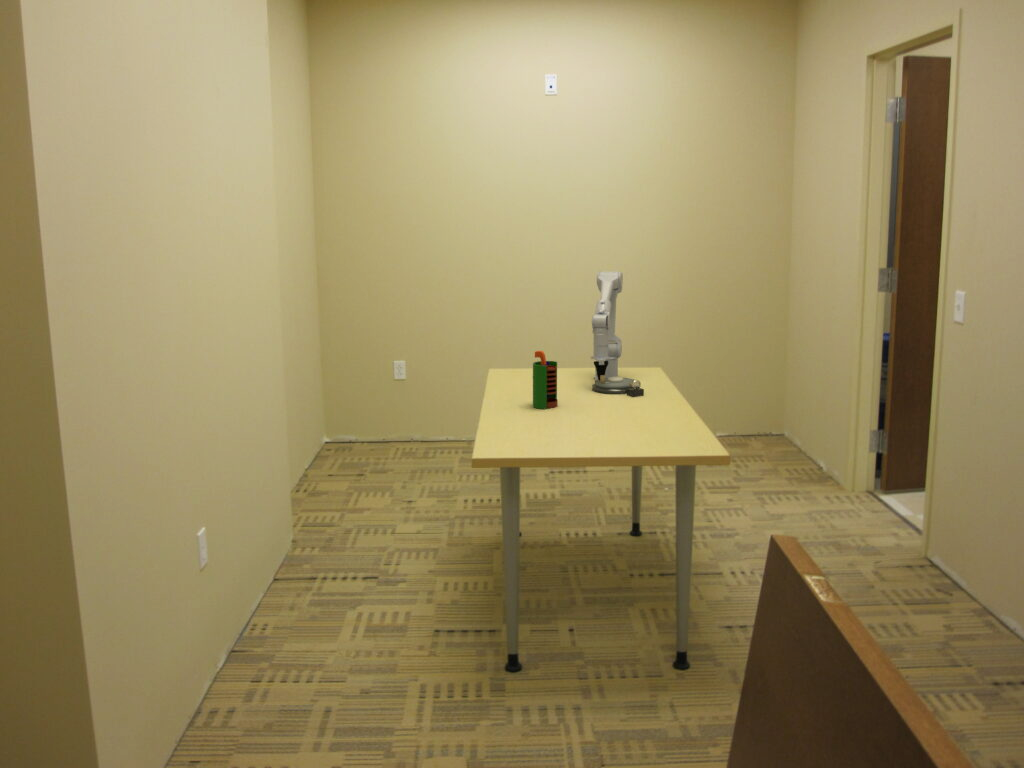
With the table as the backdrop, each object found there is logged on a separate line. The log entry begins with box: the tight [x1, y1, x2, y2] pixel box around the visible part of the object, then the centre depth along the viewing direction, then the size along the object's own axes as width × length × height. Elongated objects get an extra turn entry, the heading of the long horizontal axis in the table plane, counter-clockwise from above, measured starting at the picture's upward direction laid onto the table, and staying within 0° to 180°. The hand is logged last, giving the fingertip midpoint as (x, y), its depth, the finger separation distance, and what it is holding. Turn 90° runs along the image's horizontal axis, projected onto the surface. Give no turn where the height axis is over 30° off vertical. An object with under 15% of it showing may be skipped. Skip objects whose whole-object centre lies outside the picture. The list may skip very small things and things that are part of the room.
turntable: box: [594, 375, 635, 389], centre depth 348 cm, size 16×16×4 cm
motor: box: [532, 350, 559, 410], centre depth 322 cm, size 10×9×20 cm
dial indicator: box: [626, 379, 645, 398], centre depth 338 cm, size 5×5×6 cm
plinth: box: [591, 382, 629, 395], centre depth 349 cm, size 18×18×2 cm
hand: (601, 379), depth 348 cm, fingers closed
